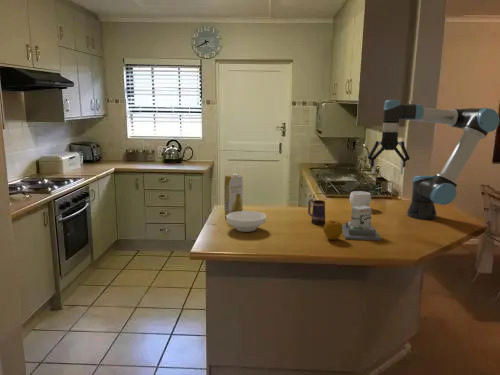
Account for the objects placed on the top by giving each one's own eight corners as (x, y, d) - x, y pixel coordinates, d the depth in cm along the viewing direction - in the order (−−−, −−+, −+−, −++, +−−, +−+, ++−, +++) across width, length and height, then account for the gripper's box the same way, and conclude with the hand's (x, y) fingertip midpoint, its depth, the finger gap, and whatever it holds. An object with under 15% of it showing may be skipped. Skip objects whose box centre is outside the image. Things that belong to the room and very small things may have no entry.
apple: (329, 243, 178) (330, 224, 177) (319, 237, 186) (320, 219, 184) (345, 241, 182) (346, 222, 180) (334, 235, 190) (335, 217, 188)
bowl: (220, 226, 203) (220, 213, 202) (256, 222, 211) (256, 209, 209) (234, 237, 185) (234, 222, 184) (272, 233, 193) (273, 218, 192)
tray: (372, 228, 202) (373, 220, 201) (381, 240, 183) (381, 231, 182) (340, 226, 204) (340, 218, 203) (345, 239, 184) (345, 230, 184)
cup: (374, 209, 241) (375, 193, 239) (360, 212, 234) (361, 196, 232) (358, 205, 251) (359, 190, 249) (344, 207, 244) (345, 192, 242)
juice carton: (231, 218, 218) (231, 175, 213) (222, 215, 223) (222, 173, 219) (244, 216, 224) (244, 173, 219) (235, 213, 229) (235, 171, 225)
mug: (327, 223, 211) (328, 200, 208) (319, 225, 206) (320, 202, 204) (312, 219, 218) (313, 197, 216) (304, 221, 213) (304, 199, 211)
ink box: (357, 233, 189) (358, 209, 187) (349, 230, 193) (351, 206, 191) (370, 231, 193) (372, 207, 191) (363, 228, 197) (364, 205, 195)
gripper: (413, 131, 203) (410, 172, 207) (363, 130, 205) (361, 171, 209) (418, 132, 195) (414, 175, 199) (366, 131, 198) (363, 174, 202)
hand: (387, 173), depth 204 cm, fingers open, 13 cm apart
